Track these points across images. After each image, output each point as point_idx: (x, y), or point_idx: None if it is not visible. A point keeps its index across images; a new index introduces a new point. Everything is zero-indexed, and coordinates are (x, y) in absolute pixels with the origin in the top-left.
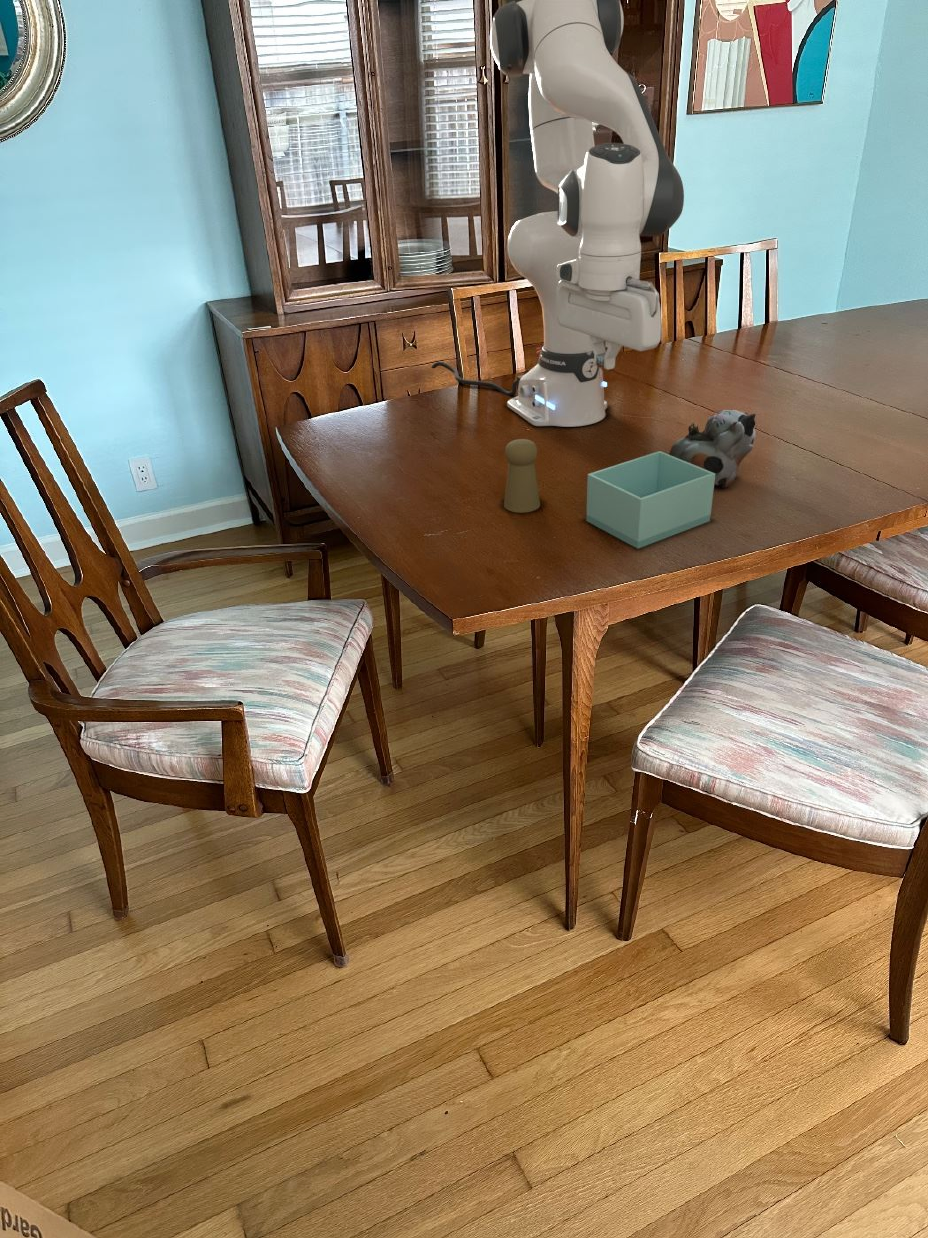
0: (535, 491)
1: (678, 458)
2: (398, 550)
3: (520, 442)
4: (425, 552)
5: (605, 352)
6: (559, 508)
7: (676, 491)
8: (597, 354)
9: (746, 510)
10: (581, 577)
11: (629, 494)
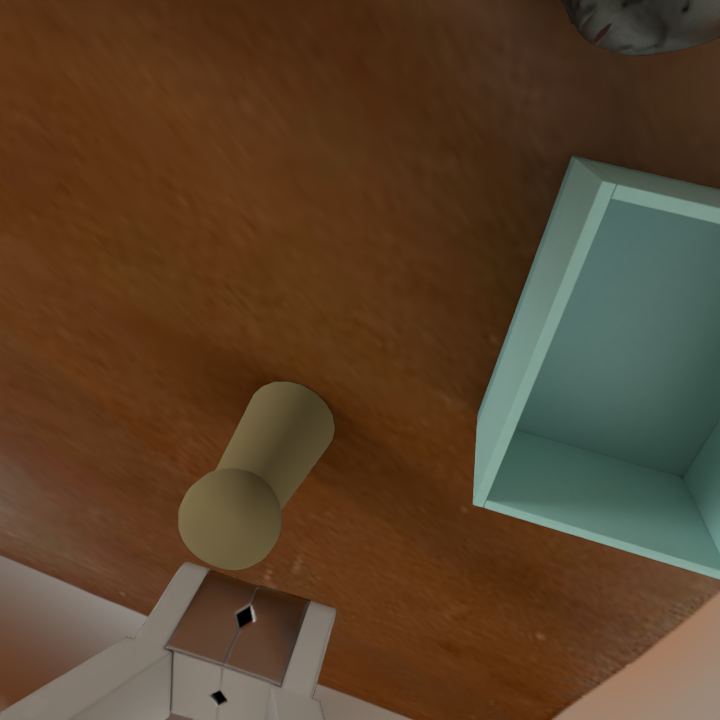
0: (314, 446)
1: (628, 11)
2: None
3: (218, 549)
4: None
5: (168, 655)
6: (374, 390)
7: None
8: (167, 712)
9: None
10: (619, 610)
11: (679, 566)
